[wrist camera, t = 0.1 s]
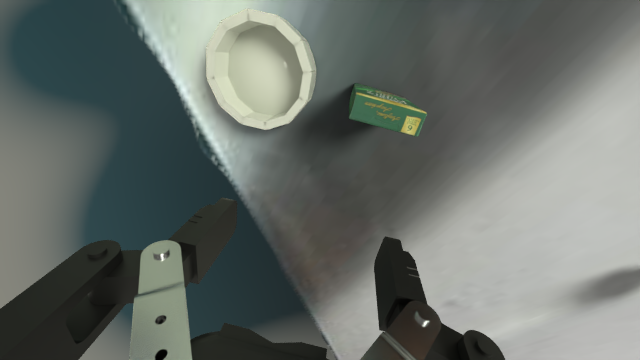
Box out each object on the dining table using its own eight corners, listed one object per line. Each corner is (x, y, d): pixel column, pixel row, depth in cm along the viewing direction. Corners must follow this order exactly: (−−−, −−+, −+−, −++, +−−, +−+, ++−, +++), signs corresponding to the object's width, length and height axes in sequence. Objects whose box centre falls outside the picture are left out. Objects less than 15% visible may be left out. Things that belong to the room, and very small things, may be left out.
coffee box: (406, 96, 36) (430, 113, 25) (399, 115, 38) (417, 139, 26) (354, 81, 36) (353, 91, 25) (349, 100, 38) (345, 118, 26)
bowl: (224, 6, 35) (205, -2, 30) (325, 29, 34) (320, 24, 30) (223, 109, 41) (206, 115, 37) (306, 129, 41) (300, 138, 36)
